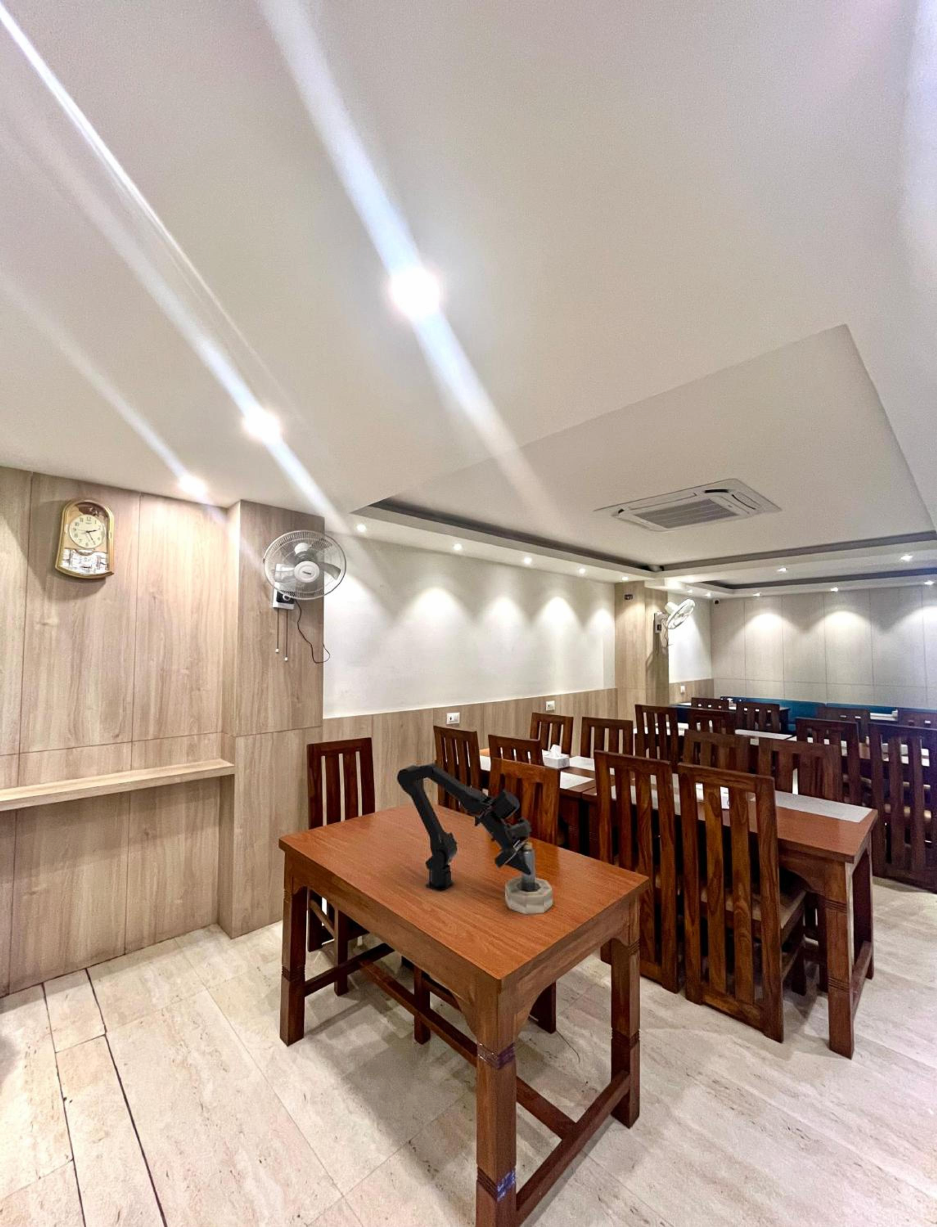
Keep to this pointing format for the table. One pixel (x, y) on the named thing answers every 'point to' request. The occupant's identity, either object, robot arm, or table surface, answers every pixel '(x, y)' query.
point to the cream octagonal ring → (528, 896)
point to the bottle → (529, 859)
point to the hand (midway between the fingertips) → (532, 871)
